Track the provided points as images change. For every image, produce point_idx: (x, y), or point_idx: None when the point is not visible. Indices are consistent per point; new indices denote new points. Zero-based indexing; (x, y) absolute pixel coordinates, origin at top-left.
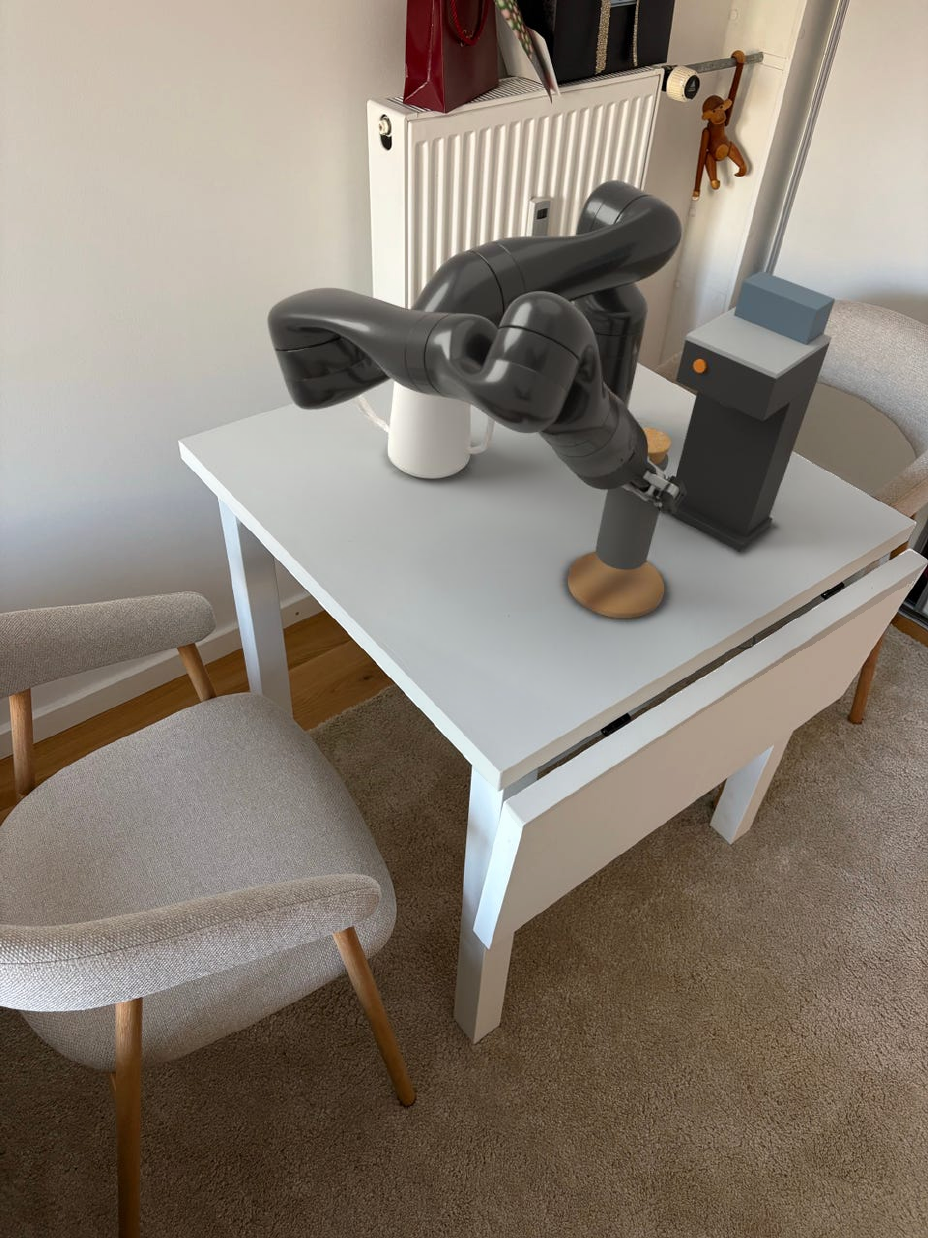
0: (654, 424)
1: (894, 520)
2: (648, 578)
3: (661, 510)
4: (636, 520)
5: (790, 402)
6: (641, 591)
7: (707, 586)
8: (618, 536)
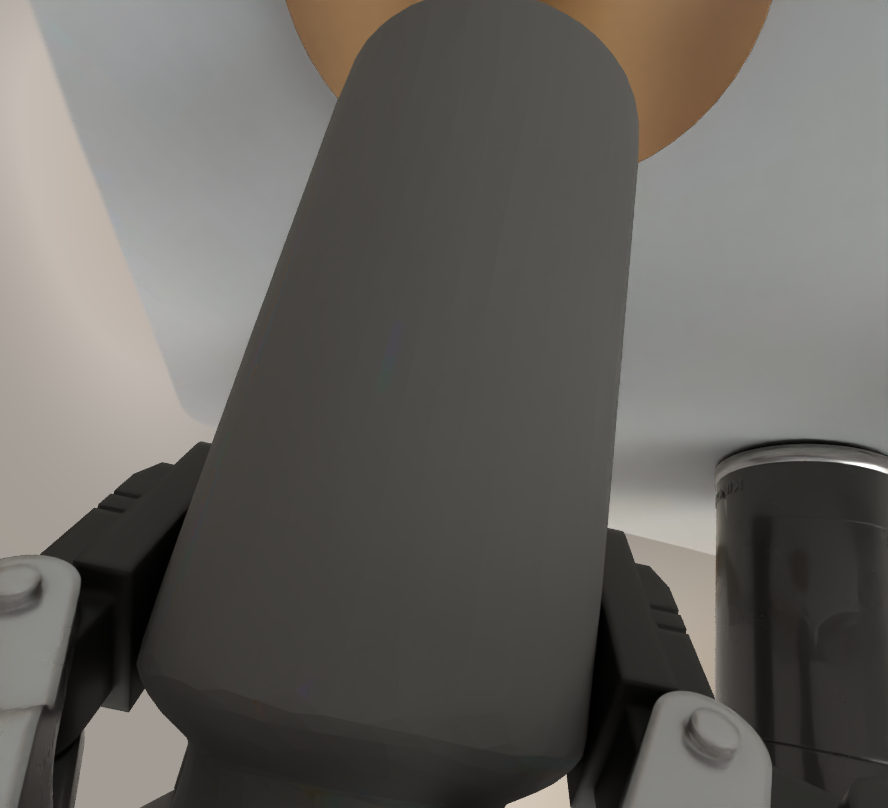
0: (658, 498)
1: (202, 423)
2: None
3: (175, 472)
4: (271, 366)
5: (176, 783)
6: (378, 8)
7: (261, 172)
8: (416, 195)
